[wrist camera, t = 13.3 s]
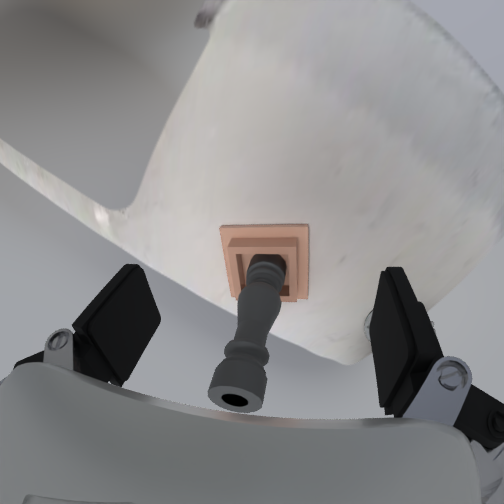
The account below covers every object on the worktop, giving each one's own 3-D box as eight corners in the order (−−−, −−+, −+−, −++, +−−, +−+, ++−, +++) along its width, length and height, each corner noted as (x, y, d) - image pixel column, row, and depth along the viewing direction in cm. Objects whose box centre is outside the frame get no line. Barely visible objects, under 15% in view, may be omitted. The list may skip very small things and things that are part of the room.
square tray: (308, 224, 42) (308, 235, 38) (307, 295, 49) (307, 310, 45) (221, 225, 45) (213, 236, 41) (232, 293, 51) (227, 307, 48)
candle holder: (287, 282, 47) (267, 416, 25) (251, 281, 48) (212, 409, 27) (285, 250, 44) (263, 388, 22) (247, 250, 45) (198, 380, 24)
